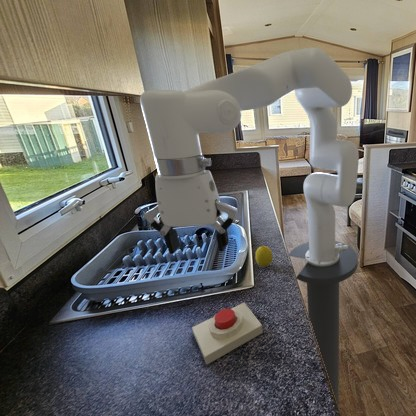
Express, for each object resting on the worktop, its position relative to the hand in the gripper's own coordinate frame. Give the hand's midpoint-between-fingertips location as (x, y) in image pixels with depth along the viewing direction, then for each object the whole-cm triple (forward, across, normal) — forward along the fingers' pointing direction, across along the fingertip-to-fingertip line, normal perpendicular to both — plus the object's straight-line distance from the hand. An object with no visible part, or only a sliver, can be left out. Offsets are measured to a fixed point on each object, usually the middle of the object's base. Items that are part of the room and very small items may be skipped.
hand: (199, 249), depth 53 cm
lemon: (+24, -7, -28) cm, 37 cm away
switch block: (+23, -2, 0) cm, 24 cm away
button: (+20, -2, 0) cm, 20 cm away
